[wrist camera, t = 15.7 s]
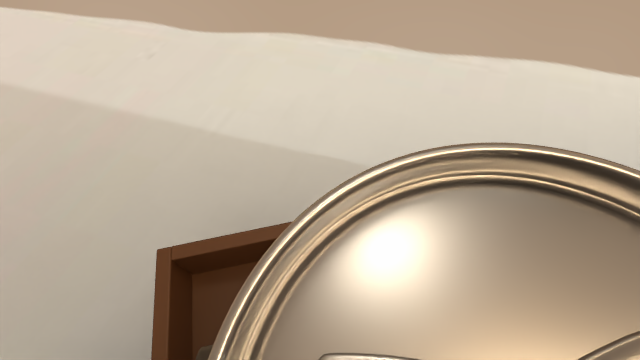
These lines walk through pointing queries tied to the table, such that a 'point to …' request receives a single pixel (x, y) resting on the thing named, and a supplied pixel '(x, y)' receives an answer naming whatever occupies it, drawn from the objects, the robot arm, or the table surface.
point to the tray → (202, 288)
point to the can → (453, 263)
